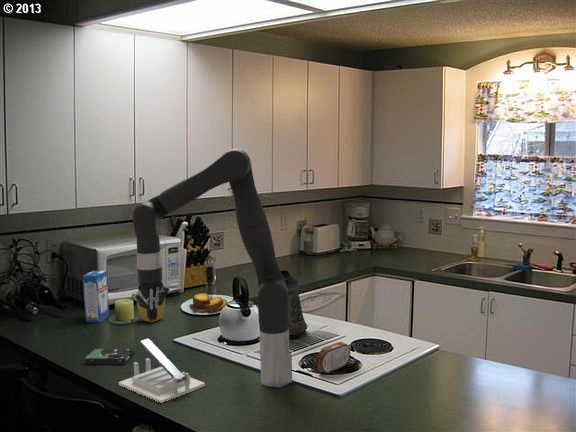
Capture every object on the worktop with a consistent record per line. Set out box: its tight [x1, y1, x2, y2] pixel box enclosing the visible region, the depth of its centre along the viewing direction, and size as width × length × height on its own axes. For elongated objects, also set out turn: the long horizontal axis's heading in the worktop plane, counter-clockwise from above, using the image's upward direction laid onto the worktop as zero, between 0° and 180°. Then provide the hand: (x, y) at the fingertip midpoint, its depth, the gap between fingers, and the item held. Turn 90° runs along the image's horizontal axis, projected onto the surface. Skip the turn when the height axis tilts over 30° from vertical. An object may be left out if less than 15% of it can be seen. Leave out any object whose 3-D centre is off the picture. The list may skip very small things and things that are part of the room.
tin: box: [315, 341, 351, 374], centre depth 215 cm, size 15×3×8 cm, turn 134°
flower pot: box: [136, 298, 166, 323], centre depth 274 cm, size 9×9×9 cm
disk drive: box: [83, 347, 136, 366], centre depth 230 cm, size 10×3×15 cm
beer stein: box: [280, 270, 307, 341], centre depth 250 cm, size 16×19×25 cm
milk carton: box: [82, 270, 110, 323], centre depth 278 cm, size 10×6×20 cm, turn 172°
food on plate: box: [179, 292, 234, 315], centre depth 290 cm, size 25×25×7 cm
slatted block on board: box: [118, 357, 206, 404], centre depth 205 cm, size 22×17×6 cm
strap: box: [139, 338, 186, 383], centre depth 204 cm, size 21×3×1 cm, turn 50°
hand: (152, 319), depth 205 cm, fingers closed
